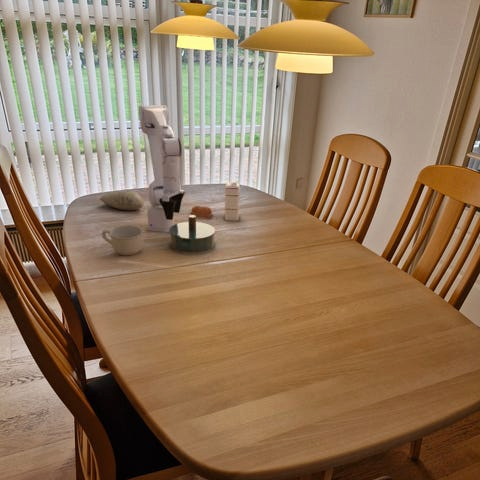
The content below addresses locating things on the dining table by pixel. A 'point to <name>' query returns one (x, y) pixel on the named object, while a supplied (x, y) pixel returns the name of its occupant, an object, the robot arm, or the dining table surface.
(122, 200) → the rock
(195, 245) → the pot
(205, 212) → the bread
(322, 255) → the dining table surface
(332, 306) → the dining table surface
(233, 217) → the white toy tower
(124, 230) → the teacup
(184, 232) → the lid
